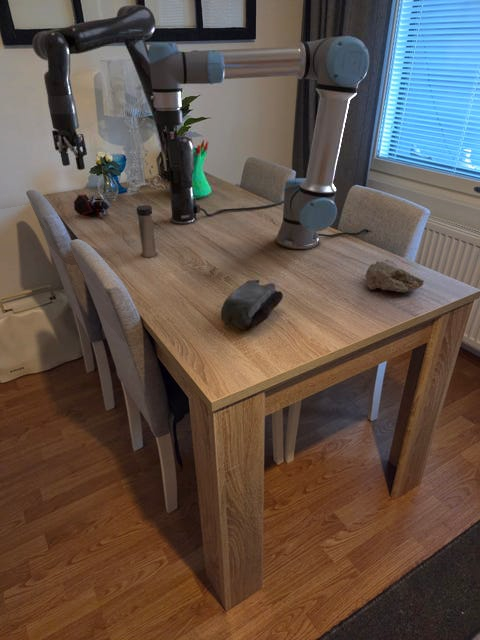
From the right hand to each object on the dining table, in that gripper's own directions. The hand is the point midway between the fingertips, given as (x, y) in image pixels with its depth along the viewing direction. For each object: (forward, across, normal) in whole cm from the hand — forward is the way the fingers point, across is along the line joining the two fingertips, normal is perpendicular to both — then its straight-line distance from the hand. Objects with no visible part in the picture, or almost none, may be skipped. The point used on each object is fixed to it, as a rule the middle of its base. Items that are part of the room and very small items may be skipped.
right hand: (174, 187), depth 133 cm
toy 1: (+26, -59, -31) cm, 71 cm away
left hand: (-3, -18, -30) cm, 35 cm away
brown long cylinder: (+26, -12, -10) cm, 30 cm away
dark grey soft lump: (+26, +36, +15) cm, 47 cm away
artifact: (+27, +27, +60) cm, 71 cm away
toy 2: (+26, -81, +14) cm, 86 cm away
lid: (+10, -12, -10) cm, 18 cm away
